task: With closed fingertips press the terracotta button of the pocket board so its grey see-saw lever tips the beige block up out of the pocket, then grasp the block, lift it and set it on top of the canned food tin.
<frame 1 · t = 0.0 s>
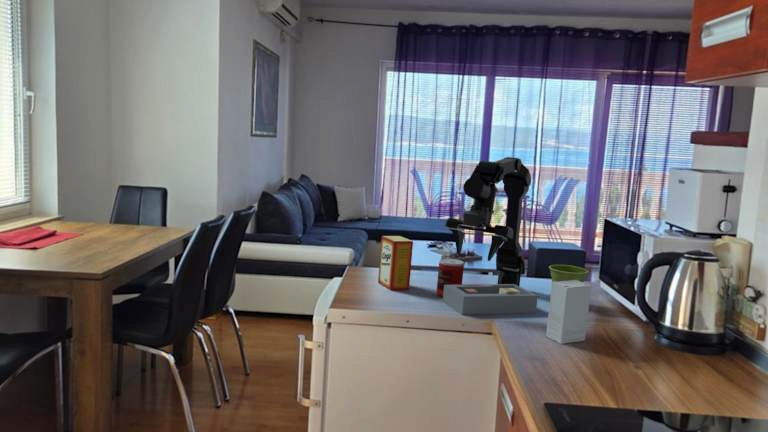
hand: (473, 258, 172), 15 cm above the worktop, tool pointing down, fingers open, 9 cm apart
baking soda box: (393, 286, 196), on the worktop
plant pot: (564, 304, 191), on the worktop
canned food: (448, 296, 190), on the worktop
pocket board: (488, 307, 180), on the worktop
beige block: (508, 298, 182), point 3 cm above the worktop, touching ejector lever
skincare box: (565, 340, 155), on the worktop
ejector lever: (491, 295, 180), point 3 cm above the worktop, hinge at 0.0°, touching beige block, pocket board
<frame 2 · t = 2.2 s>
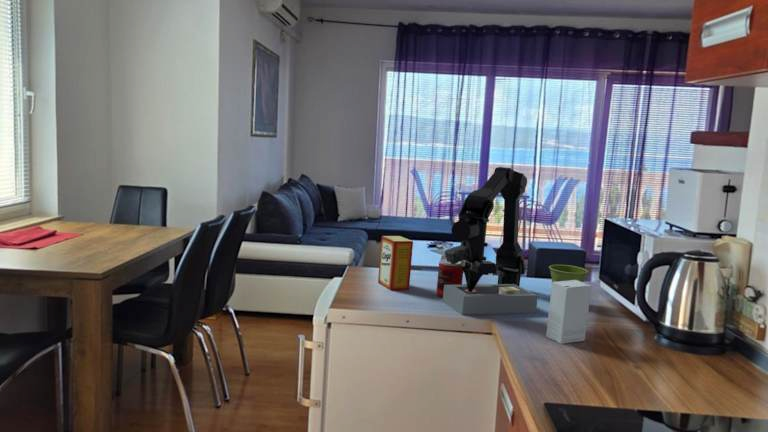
hand: (470, 290, 177), 5 cm above the worktop, tool pointing down, fingers closed, pressing on ejector lever
ejector lever: (491, 295, 180), point 4 cm above the worktop, hinge at 2.3°, touching gripper, beige block
everything else where it was.
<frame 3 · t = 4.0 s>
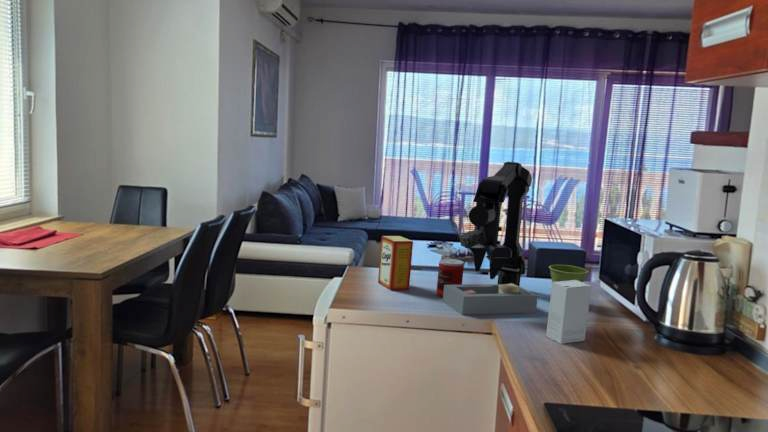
hand: (484, 275, 178), 10 cm above the worktop, tool pointing down, fingers open, 9 cm apart
ejector lever: (491, 294, 180), point 4 cm above the worktop, hinge at 7.1°, touching beige block
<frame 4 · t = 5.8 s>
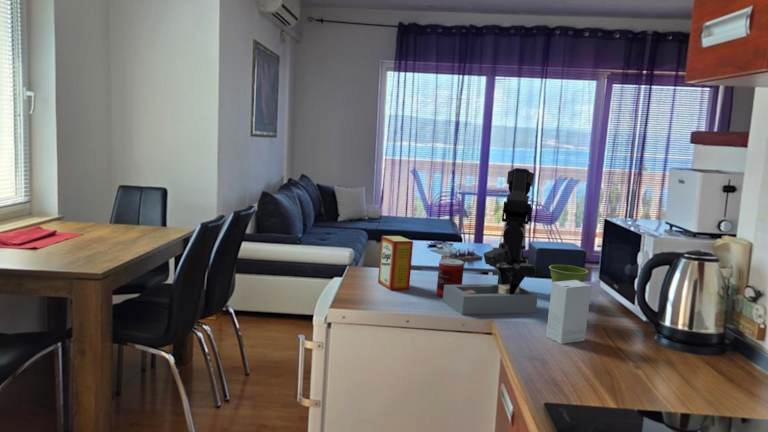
hand: (507, 292, 181), 4 cm above the worktop, tool pointing down, fingers closed on beige block, 4 cm apart
beige block: (508, 294, 182), point 4 cm above the worktop, tilted 7°, touching ejector lever, gripper
everything else where it was.
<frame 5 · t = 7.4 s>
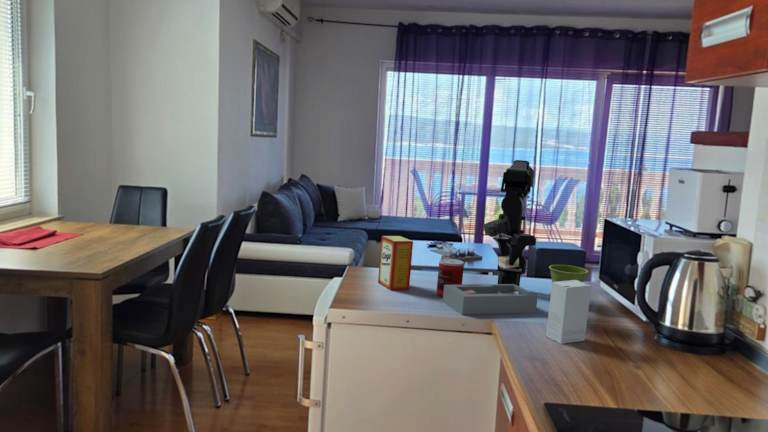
hand: (507, 263, 181), 13 cm above the worktop, tool pointing down, fingers closed on beige block, 4 cm apart
beige block: (508, 265, 181), point 12 cm above the worktop, tilted 7°, touching gripper
ejector lever: (491, 294, 180), point 4 cm above the worktop, hinge at 7.1°
everything else where it was.
when the fingers open (12 cm above the worktop, at t = 9.0 s): beige block stays where it is, resting on canned food.
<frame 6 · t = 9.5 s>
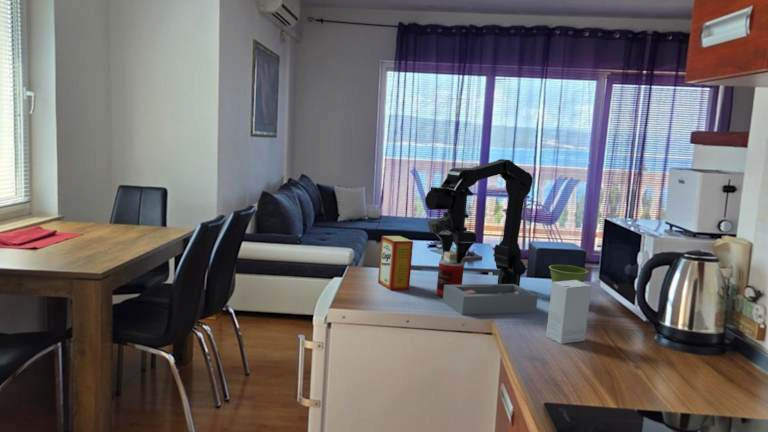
hand: (451, 259, 188), 11 cm above the worktop, tool pointing down, fingers open, 9 cm apart
canned food: (448, 296, 190), on the worktop, touching beige block
beige block: (453, 261, 188), point 11 cm above the worktop, touching canned food
everything else where it was.
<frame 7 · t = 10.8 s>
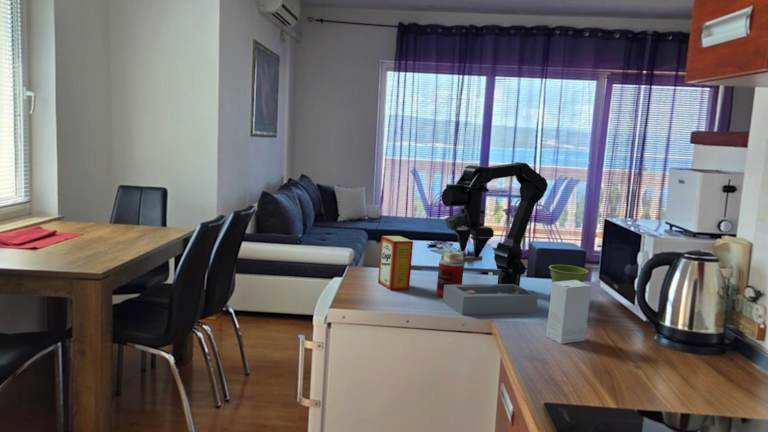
hand: (469, 254, 193), 13 cm above the worktop, tool pointing down, fingers open, 9 cm apart
nothing on the worktop moved.
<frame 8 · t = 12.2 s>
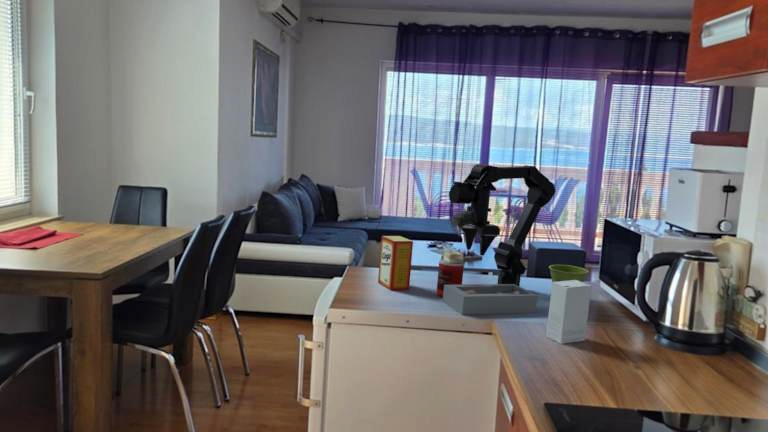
hand: (475, 252, 195), 13 cm above the worktop, tool pointing down, fingers open, 9 cm apart
nothing on the worktop moved.
at the end: beige block 0.5 cm from the canned food (horizontally); beige block point 10.9 cm above the worktop; the gripper is holding nothing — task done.
